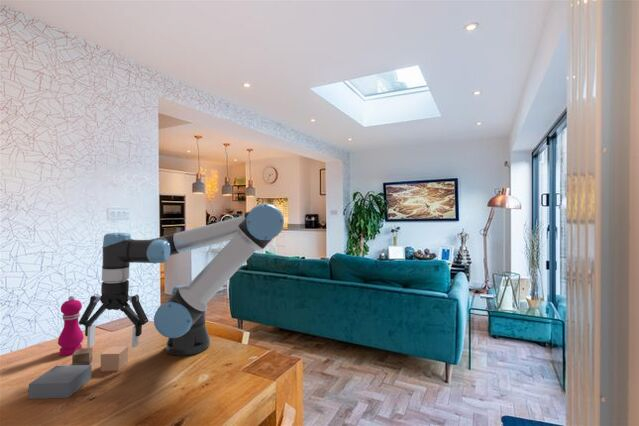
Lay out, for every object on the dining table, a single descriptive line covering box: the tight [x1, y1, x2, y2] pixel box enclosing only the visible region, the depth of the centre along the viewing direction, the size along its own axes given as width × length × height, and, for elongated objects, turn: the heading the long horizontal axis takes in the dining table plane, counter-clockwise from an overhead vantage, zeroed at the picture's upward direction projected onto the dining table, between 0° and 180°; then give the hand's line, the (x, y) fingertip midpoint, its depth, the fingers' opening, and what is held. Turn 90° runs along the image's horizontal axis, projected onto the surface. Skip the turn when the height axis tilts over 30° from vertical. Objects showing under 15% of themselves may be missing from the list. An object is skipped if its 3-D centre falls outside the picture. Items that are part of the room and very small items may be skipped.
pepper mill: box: [57, 295, 85, 356], centre depth 113 cm, size 7×7×20 cm
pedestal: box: [28, 364, 93, 400], centre depth 91 cm, size 10×10×4 cm
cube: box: [100, 345, 129, 372], centre depth 104 cm, size 6×6×6 cm
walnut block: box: [71, 346, 94, 365], centre depth 104 cm, size 4×4×4 cm
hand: (113, 345), depth 103 cm, fingers open, 13 cm apart
